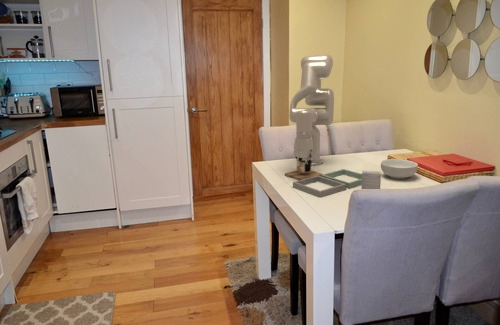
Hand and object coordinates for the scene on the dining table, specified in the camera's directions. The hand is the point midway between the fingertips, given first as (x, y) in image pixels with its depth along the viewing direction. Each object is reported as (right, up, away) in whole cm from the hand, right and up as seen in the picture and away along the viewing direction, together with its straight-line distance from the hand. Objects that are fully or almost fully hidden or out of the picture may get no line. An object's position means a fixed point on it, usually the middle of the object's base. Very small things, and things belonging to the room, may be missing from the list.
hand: (304, 169), depth 189 cm
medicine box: (+26, -9, -24) cm, 37 cm away
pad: (0, -3, +1) cm, 3 cm away
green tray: (+19, -5, -9) cm, 22 cm away
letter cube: (0, 0, 0) cm, 1 cm away
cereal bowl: (+46, -3, -6) cm, 46 cm away
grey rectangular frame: (+4, -8, -19) cm, 21 cm away
